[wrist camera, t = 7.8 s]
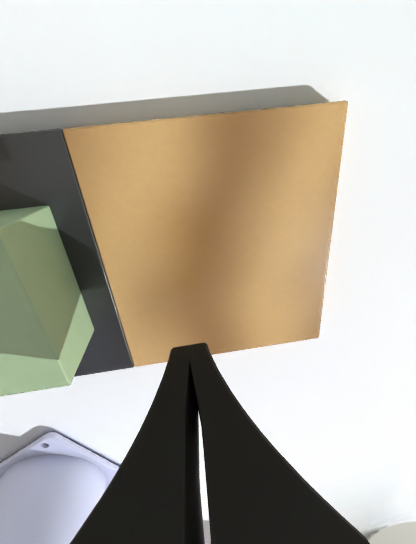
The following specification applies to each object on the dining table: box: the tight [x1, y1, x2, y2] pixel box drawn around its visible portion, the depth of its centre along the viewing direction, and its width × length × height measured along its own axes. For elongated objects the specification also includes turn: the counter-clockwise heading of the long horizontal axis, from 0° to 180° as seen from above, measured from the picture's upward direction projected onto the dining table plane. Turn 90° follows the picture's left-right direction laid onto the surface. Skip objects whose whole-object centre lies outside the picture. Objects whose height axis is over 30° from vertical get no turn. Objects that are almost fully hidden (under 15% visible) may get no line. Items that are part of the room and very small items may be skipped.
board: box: [0, 101, 348, 377], centre depth 13 cm, size 20×12×1 cm, turn 95°
